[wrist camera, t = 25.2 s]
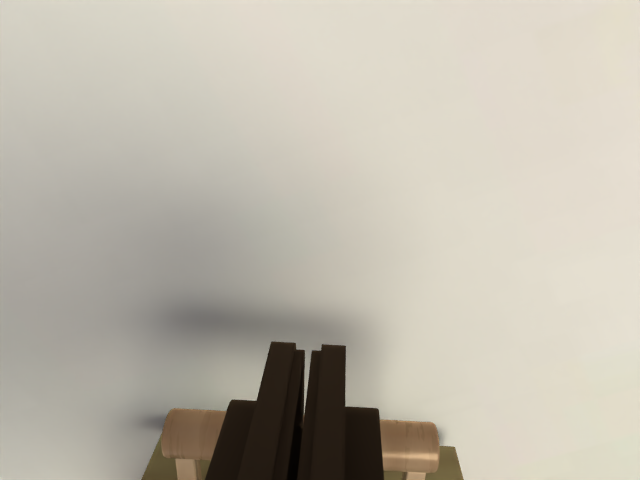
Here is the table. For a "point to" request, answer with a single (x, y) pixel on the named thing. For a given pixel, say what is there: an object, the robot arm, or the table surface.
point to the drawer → (396, 436)
